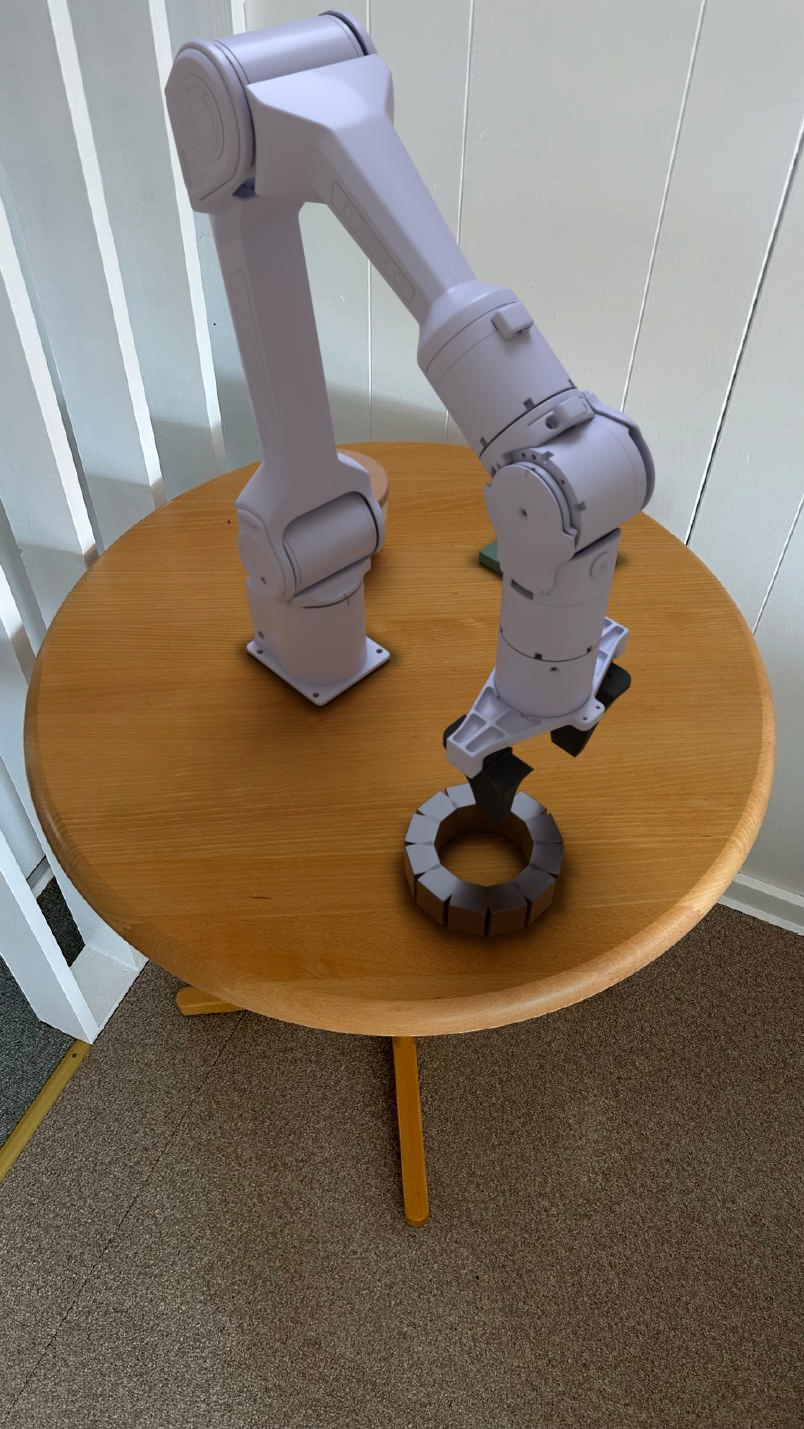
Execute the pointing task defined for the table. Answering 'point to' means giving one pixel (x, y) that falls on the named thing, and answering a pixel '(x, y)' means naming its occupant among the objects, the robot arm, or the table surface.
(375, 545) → the robot arm
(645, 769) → the table surface
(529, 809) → the ring
